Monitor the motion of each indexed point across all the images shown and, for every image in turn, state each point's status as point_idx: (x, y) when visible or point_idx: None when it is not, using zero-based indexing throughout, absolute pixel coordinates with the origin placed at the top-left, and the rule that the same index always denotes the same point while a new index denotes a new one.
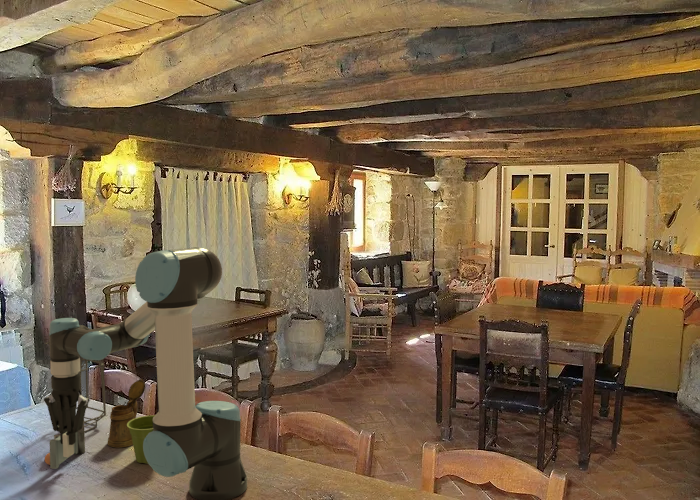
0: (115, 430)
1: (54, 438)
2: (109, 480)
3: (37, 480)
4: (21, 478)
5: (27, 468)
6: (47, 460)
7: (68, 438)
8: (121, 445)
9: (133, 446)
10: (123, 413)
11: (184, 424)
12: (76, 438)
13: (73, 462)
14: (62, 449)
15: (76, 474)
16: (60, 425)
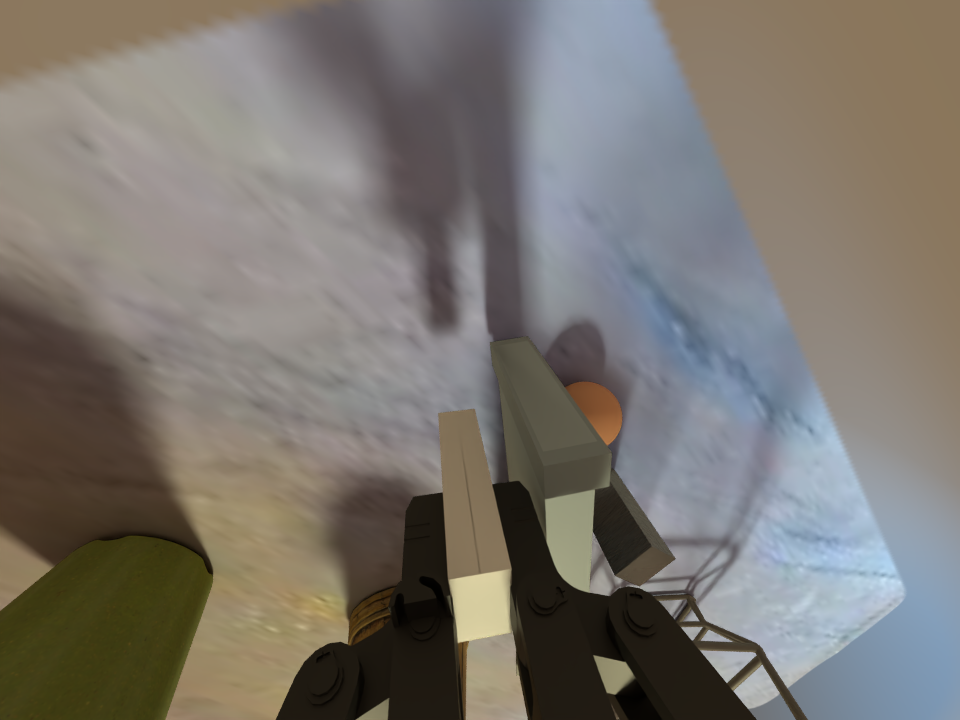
0: None
1: (660, 539)
2: (77, 341)
3: (526, 213)
4: (637, 211)
5: (666, 327)
6: (589, 388)
7: (446, 543)
8: (374, 604)
9: (126, 627)
10: None
11: None
12: None
13: None
14: (520, 460)
15: (356, 346)
16: (583, 712)
